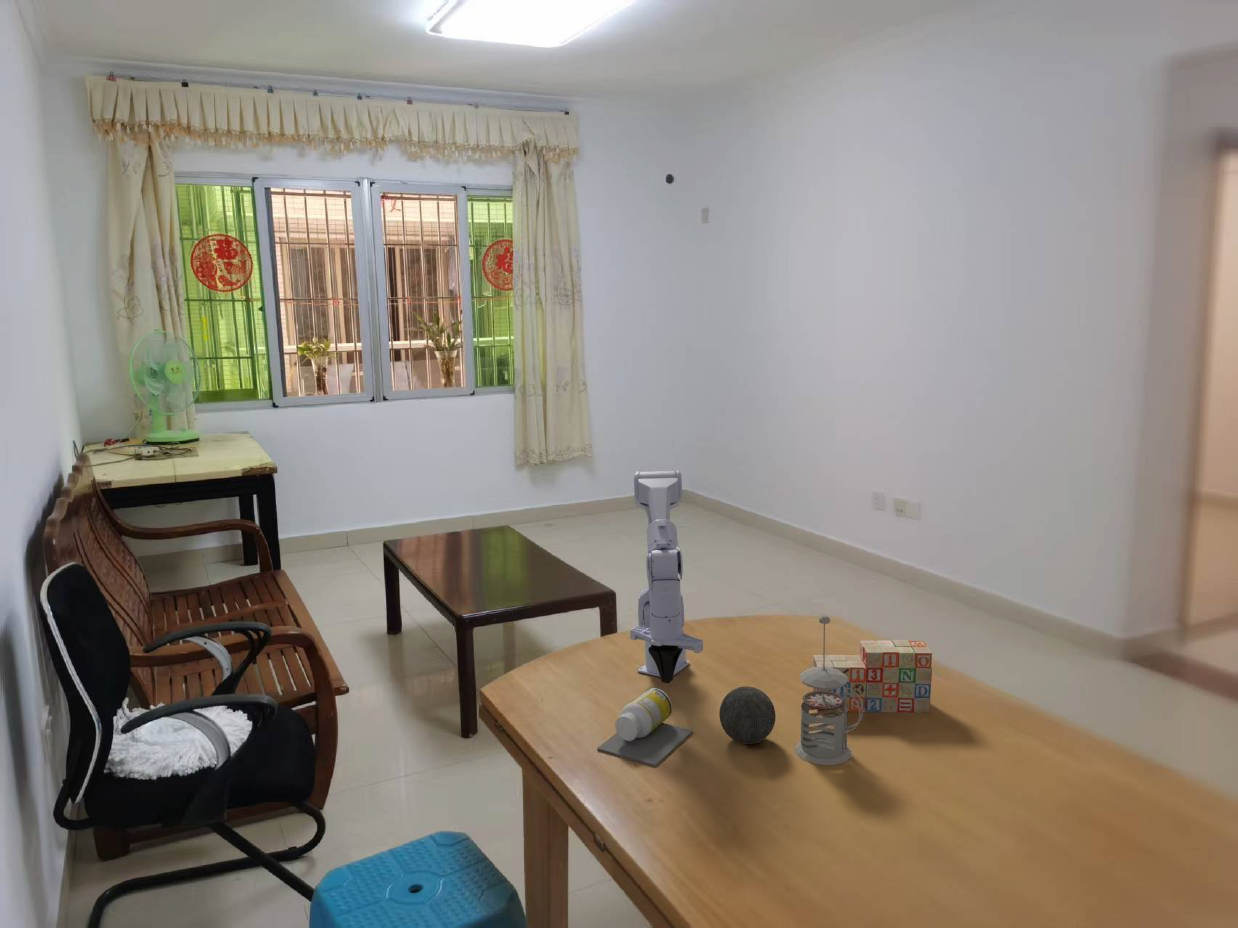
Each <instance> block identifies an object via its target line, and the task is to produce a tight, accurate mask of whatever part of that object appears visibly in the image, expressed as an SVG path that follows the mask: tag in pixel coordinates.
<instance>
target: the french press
mask: <svg viewBox="0 0 1238 928" xmlns="http://www.w3.org/2000/svg"><path fill="white" fill-rule="evenodd" d="M818 623H820V624H821V625H822V624H823V654H822V655H823V666H822V667H813V666H812V667H810V668H807V669H805V670H804V671H803V672H801V673H800V676H799V678H800V681H801V683H802V684H803V685H806V686H807V687H810V688H812V689H813V688H815V689H822V690H823V691H822V690H821V691H820V690H819V691H813V690H812V691H809V692H807V693H805V694H804V695H803V697H802V701H803V702H801V705H800V740H799V741H798V743H796V745H795V748H794V751H795V753H796V755H797V757H799V758H800V759H802V760H803V761H807V762H808V763H812V764H815V765H820V766H821V765H823V766H834V765H840V764H843V763H846V762H847V761H848V760H849V759H851V758H852V753H853V752H852V750H851V748H850V746H849V745H848V732H852V731H853V730H854V729H856V728H857V727H858V725H859V724H860V723H861V721H862V719H863V716H864V712H863V703H862V701H861V699H860V697H859V695H858V694H857V693H856V692H855V691H853V690H852V689H851V688H847V689H846V692H844V693H843V697H842V696H840V695H839V694H836V693H833V692H828V691H824V690H832V689H837V688H841V687H843V686H844V685H845V684H846V683H847V680H848V678H847V676H846V675H845V674H844V673H842V672H841V671H839V670H837V669H834V668H830V667H826V666H825V655H826V652H825V651H826V650H825V649H826V648H825V647H826V624H830V623H831V619H830V617H829V616H828V614H827V615H826V614H825V615H820V616H819V617H818ZM848 689H850V690H851V691H852V692H854V693H855V694H856V695H857V697H858V698H859V700H860V702H861V705H862V712H860V707H859V704H858V702H857V700H856V699H855V698H854V697H853V696H852V695H851V694H850V693H848ZM845 693H846V695H845ZM847 694H848V695H850V696H851V697H852V698H853V699H854V700H855V701H856V703H857V705H858V709H859V712H858V719H857V722H856V723H855V724H852V725H848V726H847V712H846V707H845V705H844V702H845V700H844V698H846V696H847ZM838 708H840V709H841V710H842V711H843V712H840V711H838V710H837V709H838ZM817 709H818V710H824V711H817ZM815 710H816V711H817V712H813V713H811V712H810V711H815ZM827 713H836V714H837V715H838V716H837V715H834V714H833V715H832V714H829V715H826V716H823V717H822V715H825V714H827ZM814 724H819V725H815V726H810V725H814ZM829 726H832V728H831V727H829ZM833 726H834V727H833ZM810 732H811V733H810ZM851 752H852V753H851ZM850 757H851V758H850ZM842 762H843V763H842Z"/></svg>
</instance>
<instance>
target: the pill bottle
mask: <svg viewBox="0 0 1238 928" xmlns="http://www.w3.org/2000/svg"><path fill="white" fill-rule="evenodd" d="M672 711H673V704H672V701H671V699H670V696H668V694H667V693H666V692H664V691H663V690H662V689H659V688H655V687H654V688H653V687H651V688H648V689H646V690H645V691H644V692H643V693H641V694H640V695H639V696H637V697H636V698H634V699H633V700H631V701H630V702H628V703H627V704H626V705H624V707H623V708H622V710H621V712H620V716H618V718H617V719H616V720H615V723H614V725H615V726H614V727H615V730H616V733H618V735H619V736H620V737H621V738H622V739H624V740H627V741H632V740H634V739H635V738H642V737H645V736H647V735H648V734H649V733H651V732H652V731H653V730H654V729H655V728H657V727H658V726H659V725H660V724H662V723H665V721H667V720H668V719H669V718H670V717H671V715H672Z"/></svg>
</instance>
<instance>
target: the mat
mask: <svg viewBox="0 0 1238 928" xmlns="http://www.w3.org/2000/svg"><path fill="white" fill-rule="evenodd" d="M693 733H694V730H693V729H689V728H685V727H681V726H677V725H673V724H670V723H665V722H663V723H662V724H660V725H659V726H658V727H657V728H655V729H654V730H653V731H652V732H651V733H649V734H648V735H647V736H645V737H642V738H635V739H634V740H632V741H627V740H624V739H622V738H621V737H620V736H619V735H618V733H617V732H616V733H614V734H613V735H612V736H611V737H609V738H608V739H607V740H606V741H604V742H603V743H602V744H601V745H600V746H597V748H596V749H597V751H599V752H602V753H606V754H608V755H609V754H610V755H613V756H616V757H618V758H623V759H627V760H630V761H632V762H633V761H634V762H636V763H641V764H644V765H647V766H650V767H654V768H656V767H657V766H658V765H659V764H660V763H661V762H663V760H665V759H666V758H667V757H668V756H669V755H670V754H672V752H674V751H675V750H676V749H677V748H678V747H679V746H680V745H682V744H683V742H685V741H686V740H687V739H688V738H689V737H690V736H692V734H693Z"/></svg>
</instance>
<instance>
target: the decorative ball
mask: <svg viewBox="0 0 1238 928" xmlns="http://www.w3.org/2000/svg"><path fill="white" fill-rule="evenodd" d="M718 713H719V714H718V715H719V722H720V725H721V728H722V729H723V730H724V733H725V734H726V735H727V737H729V738H730V739H731V740H734V741H735V742H738V743H741V744H744V745H753V744H754V745H755V744H758V743H760V742H762V741H763V740H765V739H766V738H768V736H769V735H770V734H771V733H772V731H773V729H774V728H775V727H774V726H775V724H776V717H777V716H776V709H775V705H774V704H773V702H772V700H771V697H769V696H768V695H767V693H765V692H764V691H762V690H760V689H759V688H756V687H754V686H748V685H747V686H739V687H737V688H734V689H731V691H729V692H728V693H727V694H726V696H725V697H724V698H723V699H722V701H721V703H720V706H719V712H718Z"/></svg>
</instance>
